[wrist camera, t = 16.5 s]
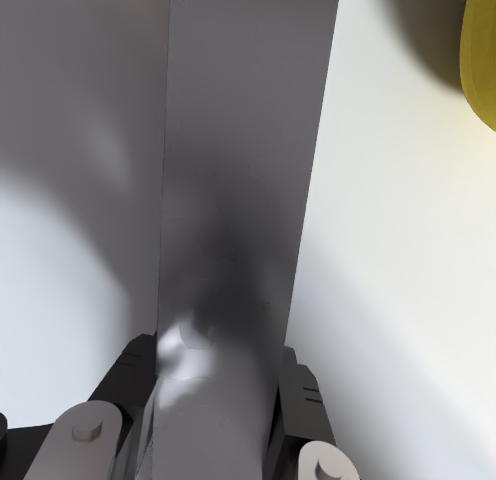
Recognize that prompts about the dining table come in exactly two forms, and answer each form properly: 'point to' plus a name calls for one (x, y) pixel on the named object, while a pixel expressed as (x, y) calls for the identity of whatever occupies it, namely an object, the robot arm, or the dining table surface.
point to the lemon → (479, 58)
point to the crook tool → (232, 223)
